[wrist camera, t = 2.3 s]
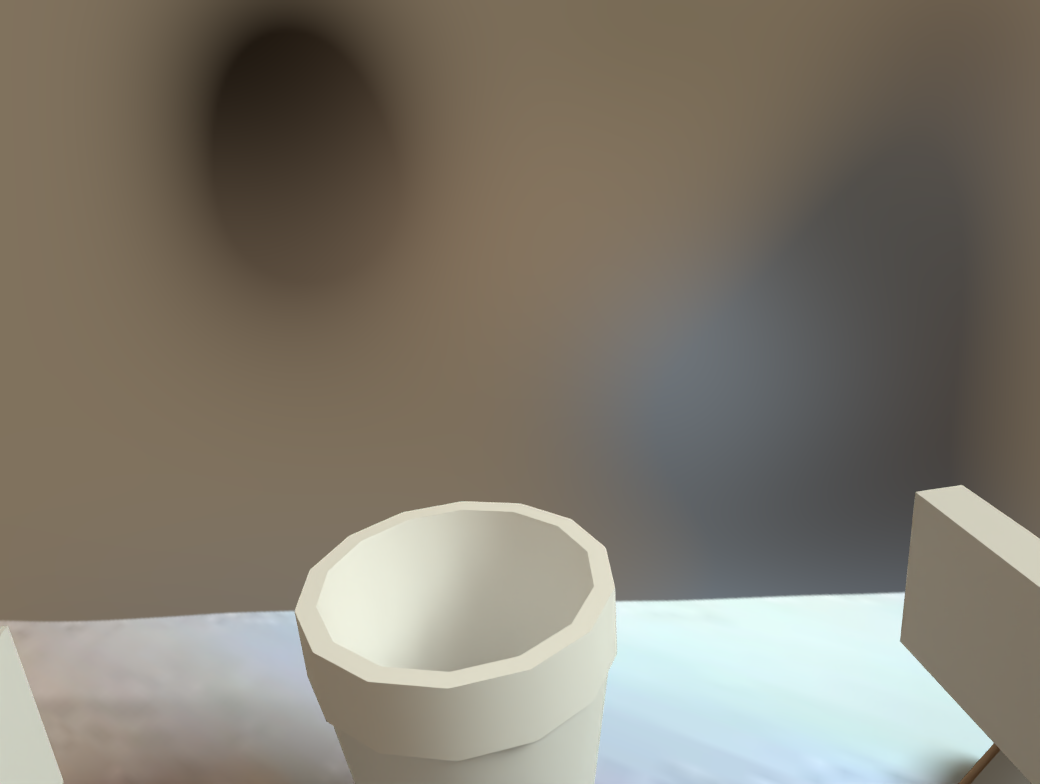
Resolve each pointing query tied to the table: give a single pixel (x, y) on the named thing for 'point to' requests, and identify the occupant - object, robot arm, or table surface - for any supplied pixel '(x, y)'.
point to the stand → (994, 770)
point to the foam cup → (463, 646)
